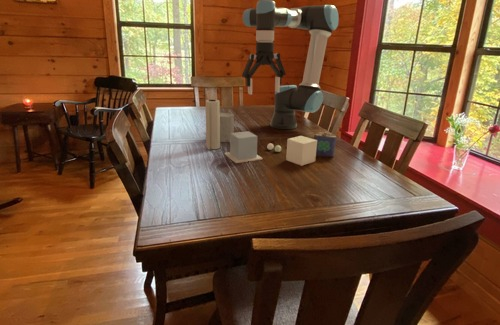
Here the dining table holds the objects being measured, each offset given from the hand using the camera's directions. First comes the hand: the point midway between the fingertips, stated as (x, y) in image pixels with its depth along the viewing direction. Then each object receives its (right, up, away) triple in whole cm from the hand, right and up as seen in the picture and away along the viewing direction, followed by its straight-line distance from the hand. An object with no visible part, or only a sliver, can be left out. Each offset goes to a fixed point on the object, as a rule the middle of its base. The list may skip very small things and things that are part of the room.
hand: (263, 93), depth 145 cm
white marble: (+3, -25, +2) cm, 25 cm away
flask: (+26, -28, -3) cm, 38 cm away
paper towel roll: (-23, -24, +3) cm, 34 cm away
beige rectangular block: (+15, -30, -10) cm, 35 cm away
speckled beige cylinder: (-19, -20, +16) cm, 32 cm away
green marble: (+6, -26, 0) cm, 27 cm away
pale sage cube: (-9, -28, -8) cm, 30 cm away
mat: (-9, -28, -7) cm, 31 cm away
